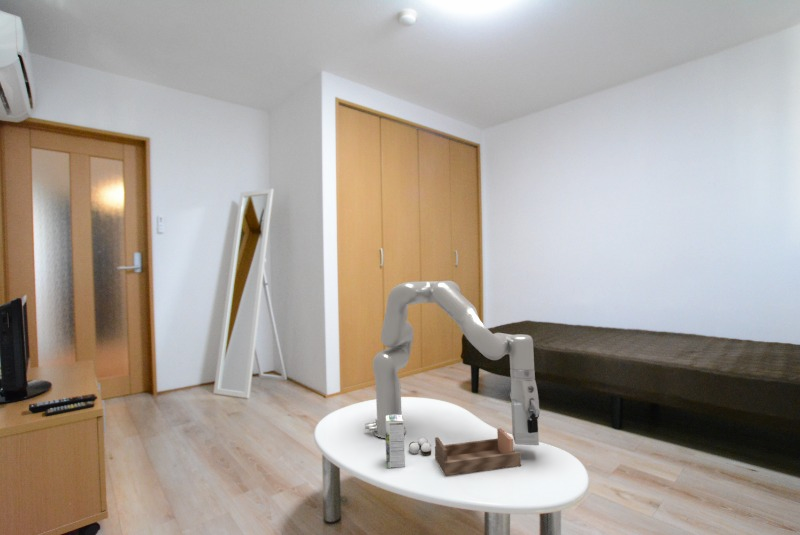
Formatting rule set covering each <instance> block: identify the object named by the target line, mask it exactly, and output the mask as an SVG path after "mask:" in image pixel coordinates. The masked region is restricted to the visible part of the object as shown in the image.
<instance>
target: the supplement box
mask: <svg viewBox="0 0 800 535" xmlns="http://www.w3.org/2000/svg"><path fill="white" fill-rule="evenodd" d="M510 402H511V403H510V404H511V407H510V408H511V426H512V427H511V429H512V439H513V443H514V444H515V445H520V446H539V445H540V444H539V442H540V441H539V438H540V437H539V431H538V432H535V433H529V432H528V424H527V420H529V419H528V416H527V413H526V412H525V411H523V406H522V404H520V403H518V402H517V401H515V400H514V399H512V398H511V397H510ZM529 409H533V408H532V406H531V405H530V406H529V408H528V410H529ZM532 413H533V412H530V415H532Z"/></svg>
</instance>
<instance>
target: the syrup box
mask: <svg viewBox="0 0 800 535" xmlns="http://www.w3.org/2000/svg"><path fill="white" fill-rule="evenodd" d="M405 455H406V454H405V435H404V415H403V414H402V415H387V416H386V439H385V459H386V460H385V461H386V469H392V468H391V467H396V468H402V467H403V468H404V467H406V466H405V465H406V464H405V463H406V461H405V457H406V456H405Z"/></svg>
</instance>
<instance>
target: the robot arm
mask: <svg viewBox="0 0 800 535" xmlns="http://www.w3.org/2000/svg"><path fill="white" fill-rule="evenodd" d="M429 303H431V304H436V305H438V307H439V308H441V310H442V311H443V312H445V313H446V314H447V315H448V316H449V318H451V319H452V320H453V321H454V323H456V324H457V325H458V326H459V329H460V330H461V332H462V333H463V335H464V336H465V337H466V339H467V340H468V342H469V343H470V344H471V345H472V346H473V347H474V348H475V349H476V350H477V351H478V352H479V353H481V354H482V355H483V356H484V357H485V358H487V359H489V360H492V361H498V360H500V359H502V358H503V357H504V356H505V355H509V368H510V369H509V372H510V379H511V380H510V381H511V382H510V392H509V397H510V399H511V398H512V399H514V400H515V401H517V402H518V403H520V404H522V406H523V411H525V412H526V413H527V416H528V419H529V420H527V424H528V432H529V433H535V432H538V433H539V417H540V413H541V409H540V399H539V393H538V386H537V382H536V376H535V372H536V371H535V357H534V356H535V354H534V340H533V336H531V335H529V334H522V333H521V334H520V333H519V334H518V333H517V334H510V333H504V332H503V333H502V332H495V333H492V331H490V329H488V328H487V326H486V325H485V324H484V323H483V322H482V321H481V318H480V317H479V314H478V310H477V309H476V306H474V304H472V303H471V302H470V300H468V299H467V298H466V297H465V296H464V295H463V294H462V293H461V289H460V286H459V285H458V284H457V283H456V282H455V281H453V280H441V281H440V280H439V281H438V280H437V281H436V280H434V281H431V280H428V281H424V280H423V281H422V280H421V281H406V282H403V283H400V284H398V285H395V286H394V287H392V289H391V290H390V291H389V294H388V296H387V302H386V308H385V313H384V318H383V323H382V329H381V332H380V333H381V335H380V341H381V343H382V344H383V345H384V347H385V349H382V350H380V351H378V352H377V354H376V355H375V356H374V358H372V359H373V361H372V371H373V375H374V380H375V393H376V394H375V395H376V396H375V398H376V399H375V400H376V419H375V421H373V422H372V423H365V424H364V428H365V430H368V431H369V432H370V431H372V432H374V434H375V435H376V436H378V437H381V438H385V439H384V440H386V416H387V415H402V416H403V414H402V413H403V411H402V392H401V390H402V389H401V381H400V377H399V373H398V372H399V371H400V370H402V369H404V368H405V367H406V366H407V365H408V363H409V360H410V357H411V352H412V347H413V342H414V338H415V336H414V335H415V334H414V333H415V331H414V328H413V326H412V323H410V322H409V321H407V320H408V315H409V310H408V309H409V308H408V306H412V305H419V304H420V305H421V304H429ZM386 347H387V348H386ZM530 405H531V406H532V408H533V409H529V410H528V408H529V406H530ZM530 412H533V413H532V415H530ZM405 433H407V427H406V426H404V434H405ZM374 434H373V435H374ZM375 435H374V436H375ZM405 435H406V434H405ZM376 436H375V437H376ZM378 437H377V438H378ZM381 438H380V439H381Z"/></svg>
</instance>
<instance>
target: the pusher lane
mask: <svg viewBox="0 0 800 535" xmlns="http://www.w3.org/2000/svg"><path fill="white" fill-rule="evenodd" d="M434 439H435V441H434V442H435V443H434V445H435V446H434V459H435V461H436V463H437V464H438V466H439V467H440V469H441V471H442V473H443V474H444V476H445V477H446V478H447V477H454V476H461V475H467V474H469V475H470V474H474V473H481V472H483V473H484V472H491V471H496V470H503V469H510V468H517V466H518V467H522V460H521V459H522V458H521V457H522V456H521V452H520V451H515V450H514V452H511V453H504V454H502V453H501V452H500V451H499V450H498V437H496V438H491V439H489V438H488V439H481V440H475V441H466V442H458V443H451V444H443V442H442V441H441V439H440V438H439V436H438V437H437V436H436V437H434Z"/></svg>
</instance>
